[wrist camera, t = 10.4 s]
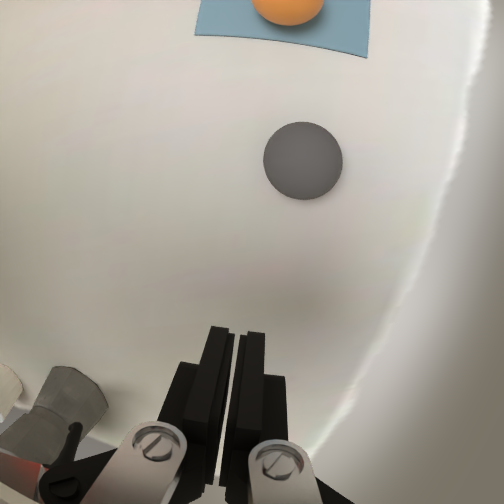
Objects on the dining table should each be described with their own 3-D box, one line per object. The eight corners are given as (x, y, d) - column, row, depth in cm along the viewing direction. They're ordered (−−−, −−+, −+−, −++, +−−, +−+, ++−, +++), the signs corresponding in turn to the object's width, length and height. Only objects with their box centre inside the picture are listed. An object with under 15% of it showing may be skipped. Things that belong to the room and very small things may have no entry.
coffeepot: (76, 425, 36) (25, 514, 19) (32, 377, 34) (-36, 461, 17) (145, 403, 33) (92, 529, 16) (92, 343, 31) (3, 461, 14)
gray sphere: (316, 108, 17) (268, 107, 22) (277, 191, 18) (237, 174, 23) (369, 149, 20) (320, 139, 25) (337, 220, 21) (292, 199, 26)
